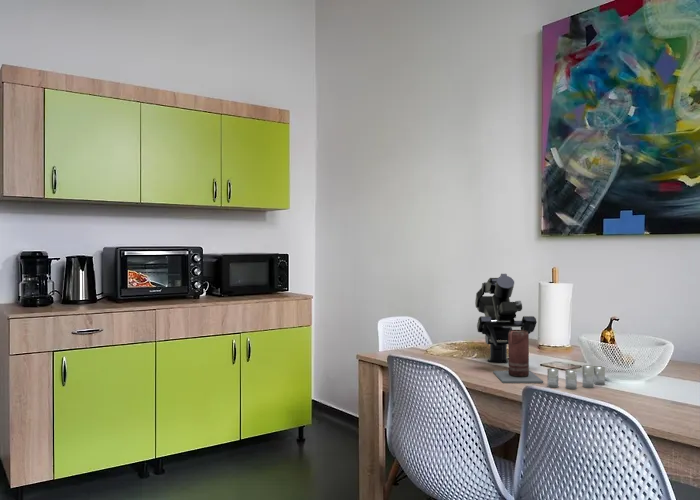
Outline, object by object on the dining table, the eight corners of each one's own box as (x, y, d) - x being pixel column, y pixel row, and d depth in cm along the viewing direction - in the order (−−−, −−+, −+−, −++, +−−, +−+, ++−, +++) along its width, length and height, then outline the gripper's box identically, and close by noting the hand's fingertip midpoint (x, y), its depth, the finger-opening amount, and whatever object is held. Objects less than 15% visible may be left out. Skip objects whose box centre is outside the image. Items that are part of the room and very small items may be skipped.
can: (504, 375, 180) (503, 330, 180) (516, 372, 184) (515, 328, 184) (520, 378, 175) (520, 332, 175) (532, 375, 179) (532, 330, 179)
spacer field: (545, 385, 169) (545, 365, 169) (598, 378, 177) (598, 359, 177) (564, 391, 162) (564, 370, 162) (618, 384, 170) (618, 363, 170)
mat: (493, 372, 186) (493, 370, 186) (530, 372, 186) (530, 370, 186) (502, 383, 172) (502, 381, 172) (543, 383, 172) (543, 381, 172)
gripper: (478, 292, 192) (485, 330, 181) (535, 292, 191) (545, 330, 181) (474, 312, 200) (480, 350, 189) (528, 312, 199) (537, 350, 189)
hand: (510, 345), depth 187 cm, fingers open, 9 cm apart
